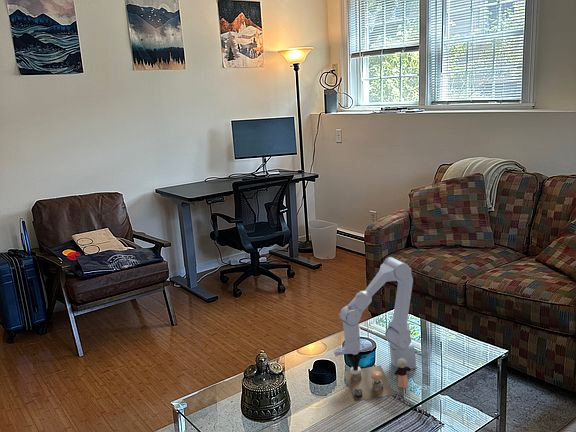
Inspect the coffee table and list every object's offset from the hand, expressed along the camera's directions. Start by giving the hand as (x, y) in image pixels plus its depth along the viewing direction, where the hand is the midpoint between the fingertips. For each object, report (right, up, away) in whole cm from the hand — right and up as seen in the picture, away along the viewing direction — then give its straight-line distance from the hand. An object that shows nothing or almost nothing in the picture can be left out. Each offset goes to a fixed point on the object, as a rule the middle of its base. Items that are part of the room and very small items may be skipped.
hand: (355, 369), depth 209 cm
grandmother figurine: (+17, -5, -7) cm, 19 cm away
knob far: (0, -3, +1) cm, 4 cm away
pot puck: (0, -7, -10) cm, 12 cm away
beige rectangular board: (+5, -6, -3) cm, 8 cm away
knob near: (+7, -3, -8) cm, 11 cm away
